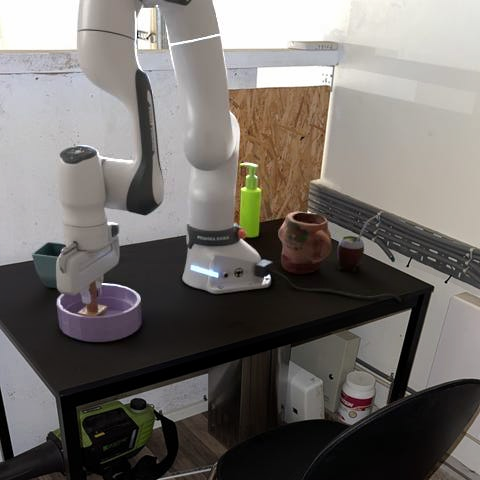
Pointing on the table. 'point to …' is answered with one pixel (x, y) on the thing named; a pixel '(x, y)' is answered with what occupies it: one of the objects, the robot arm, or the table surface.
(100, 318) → the bowl
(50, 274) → the flower pot
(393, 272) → the table surface
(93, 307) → the brush
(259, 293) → the table surface
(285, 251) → the decorative planter
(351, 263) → the mate gourd
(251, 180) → the soap dispenser
